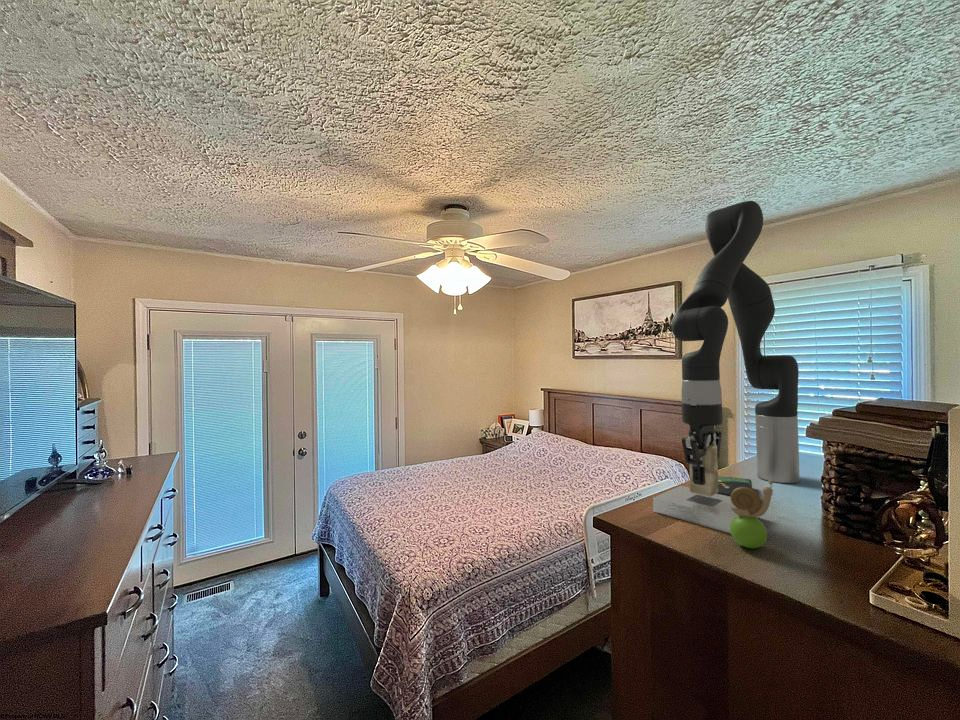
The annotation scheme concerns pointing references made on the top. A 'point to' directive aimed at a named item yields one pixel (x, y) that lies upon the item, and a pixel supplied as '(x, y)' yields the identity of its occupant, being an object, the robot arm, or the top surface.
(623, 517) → the top surface
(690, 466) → the birch peg
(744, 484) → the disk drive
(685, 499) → the white flat block
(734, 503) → the snail figurine
